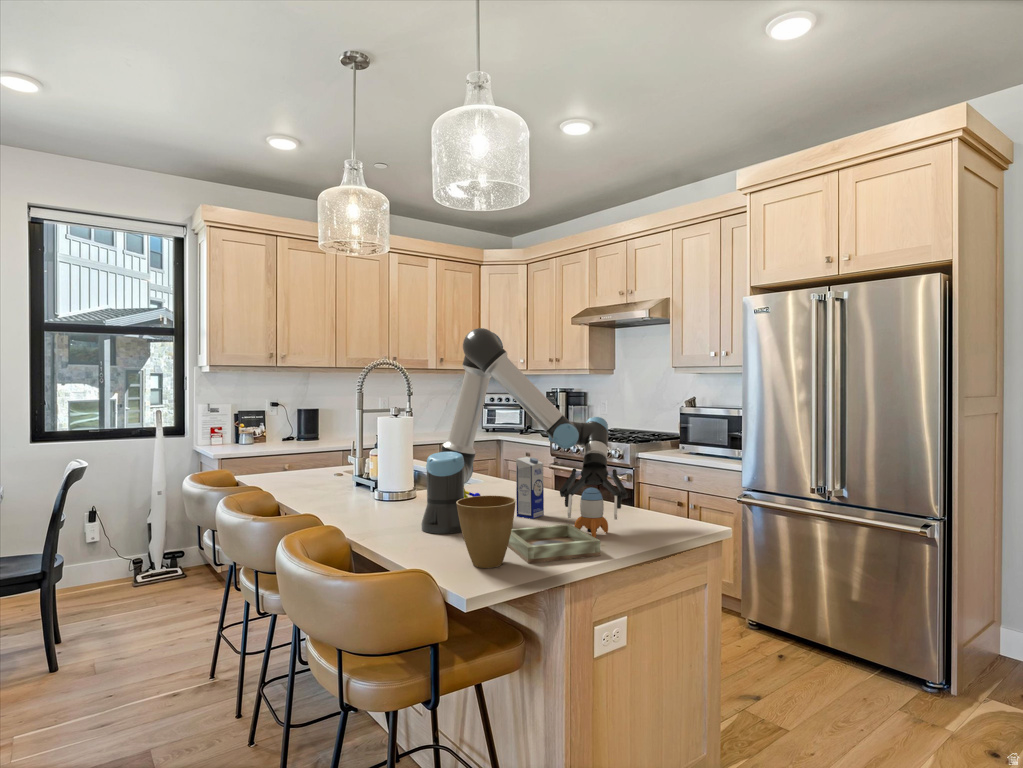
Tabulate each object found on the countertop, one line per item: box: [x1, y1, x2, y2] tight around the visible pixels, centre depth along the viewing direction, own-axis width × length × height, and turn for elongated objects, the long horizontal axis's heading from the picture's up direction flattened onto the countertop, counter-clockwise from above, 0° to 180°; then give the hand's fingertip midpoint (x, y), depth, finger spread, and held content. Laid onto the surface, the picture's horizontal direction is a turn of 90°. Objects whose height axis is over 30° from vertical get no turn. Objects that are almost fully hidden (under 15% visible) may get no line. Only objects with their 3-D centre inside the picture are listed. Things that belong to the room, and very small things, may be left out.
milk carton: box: [515, 456, 545, 520], centre depth 207 cm, size 7×7×20 cm
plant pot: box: [456, 495, 517, 569], centre depth 152 cm, size 15×15×16 cm
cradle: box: [507, 523, 601, 564], centre depth 164 cm, size 20×20×4 cm
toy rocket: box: [573, 487, 609, 539], centre depth 179 cm, size 10×11×15 cm
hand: (592, 516), depth 178 cm, fingers open, 13 cm apart
